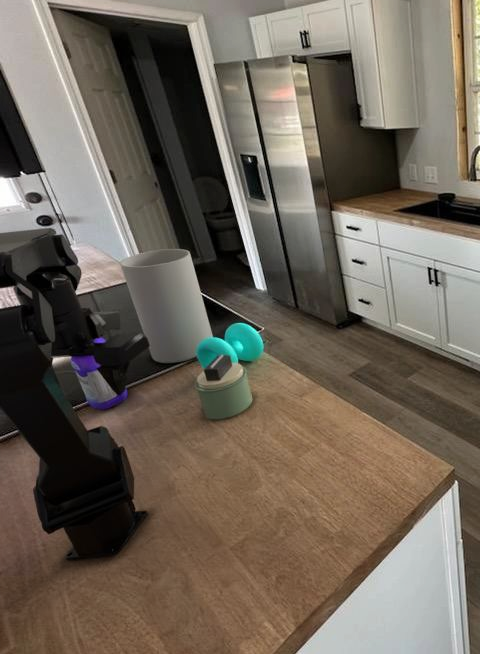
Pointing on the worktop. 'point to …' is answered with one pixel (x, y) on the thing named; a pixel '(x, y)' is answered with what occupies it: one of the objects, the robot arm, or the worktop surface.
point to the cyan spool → (231, 345)
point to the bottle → (95, 382)
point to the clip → (218, 368)
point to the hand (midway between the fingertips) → (90, 395)
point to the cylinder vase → (167, 303)
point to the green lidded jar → (225, 393)
